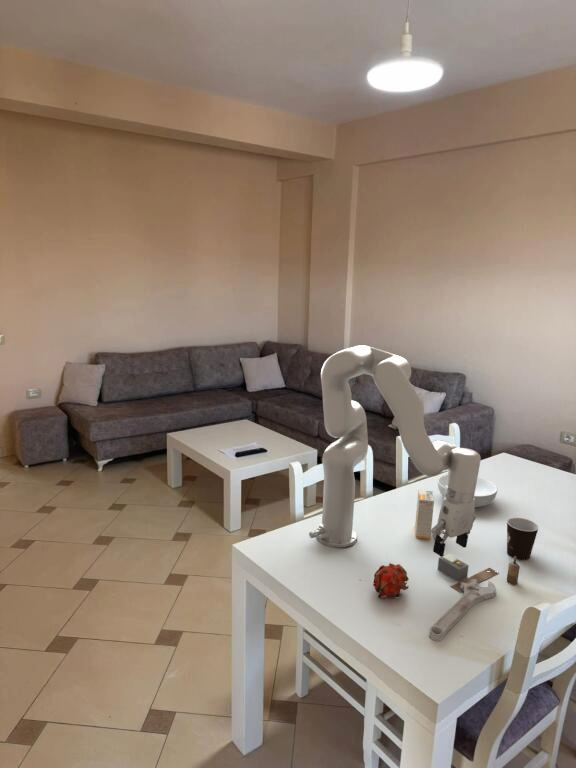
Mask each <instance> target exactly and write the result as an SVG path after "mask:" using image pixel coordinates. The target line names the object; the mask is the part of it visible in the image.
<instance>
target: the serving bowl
mask: <svg viewBox="0 0 576 768" xmlns="http://www.w3.org/2000/svg"><path fill="white" fill-rule="evenodd" d="M447 478H448V473H447V474H445V475H441V476H439V478H437V487H438V491H439V493H440V494H441V496H442V497H443V499H444V498H445V490H446V484H447ZM498 489H499V488H498V487H497V485H496V484H495V483H494V482H492V481H490V480H488V479H486V478H484V477H480V476H478V477H477V483H476V488H475V494H474V502H475V508H477V507H478V508H479V507H484V506H487V505H488V504H491V503H492V502H493V501H494V499H496V496H497V494H498Z"/></svg>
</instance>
